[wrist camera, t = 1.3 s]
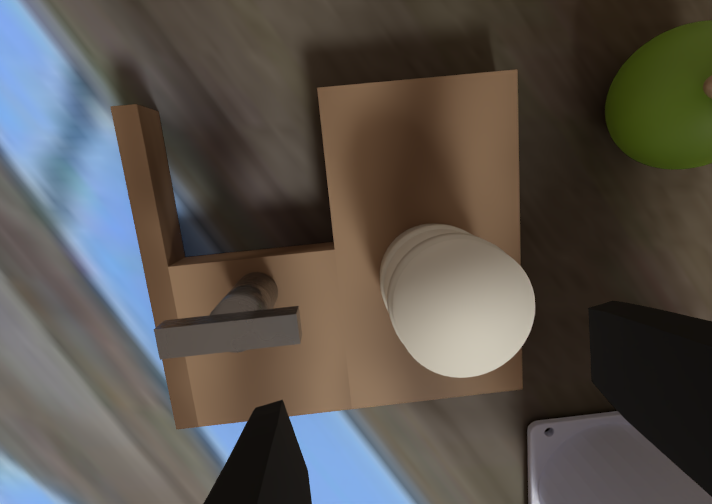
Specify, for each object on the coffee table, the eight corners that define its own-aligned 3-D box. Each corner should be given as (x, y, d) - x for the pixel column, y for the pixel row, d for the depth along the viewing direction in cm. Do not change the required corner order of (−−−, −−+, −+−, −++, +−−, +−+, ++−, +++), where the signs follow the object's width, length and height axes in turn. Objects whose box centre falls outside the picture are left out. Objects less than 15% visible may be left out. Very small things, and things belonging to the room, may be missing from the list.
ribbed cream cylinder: (480, 215, 17) (537, 233, 12) (484, 318, 18) (538, 372, 13) (372, 227, 17) (387, 249, 12) (381, 329, 18) (399, 387, 13)
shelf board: (497, 80, 18) (517, 69, 16) (505, 368, 21) (522, 389, 19) (135, 113, 18) (110, 106, 16) (191, 404, 20) (176, 429, 18)
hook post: (305, 266, 17) (295, 301, 13) (310, 306, 18) (301, 355, 13) (201, 277, 17) (151, 317, 12) (208, 317, 18) (162, 371, 13)
